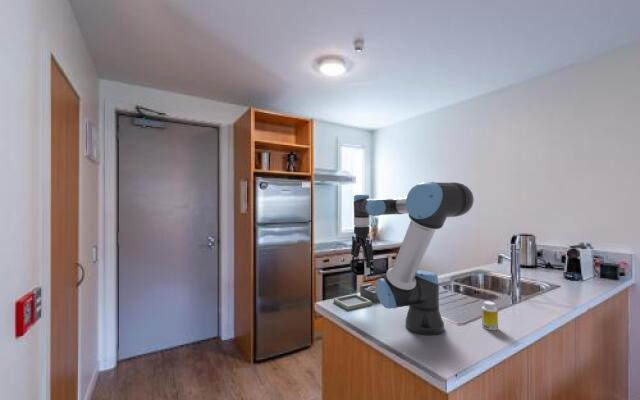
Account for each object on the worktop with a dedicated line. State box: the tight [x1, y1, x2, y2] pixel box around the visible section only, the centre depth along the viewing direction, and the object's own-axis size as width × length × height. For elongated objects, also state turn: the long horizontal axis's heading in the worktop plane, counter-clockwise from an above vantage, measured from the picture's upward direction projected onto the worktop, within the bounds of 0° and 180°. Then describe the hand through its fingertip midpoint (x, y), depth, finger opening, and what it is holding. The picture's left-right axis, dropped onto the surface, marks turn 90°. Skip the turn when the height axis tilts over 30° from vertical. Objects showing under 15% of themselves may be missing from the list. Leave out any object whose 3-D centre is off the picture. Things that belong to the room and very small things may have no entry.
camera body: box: [359, 282, 380, 303], centre depth 156 cm, size 12×7×6 cm, turn 28°
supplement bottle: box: [481, 300, 499, 331], centre depth 117 cm, size 6×6×10 cm
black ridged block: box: [349, 257, 375, 276], centre depth 141 cm, size 10×7×7 cm
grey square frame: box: [333, 293, 373, 312], centre depth 148 cm, size 14×14×2 cm
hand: (361, 272), depth 141 cm, fingers closed on black ridged block, 8 cm apart
